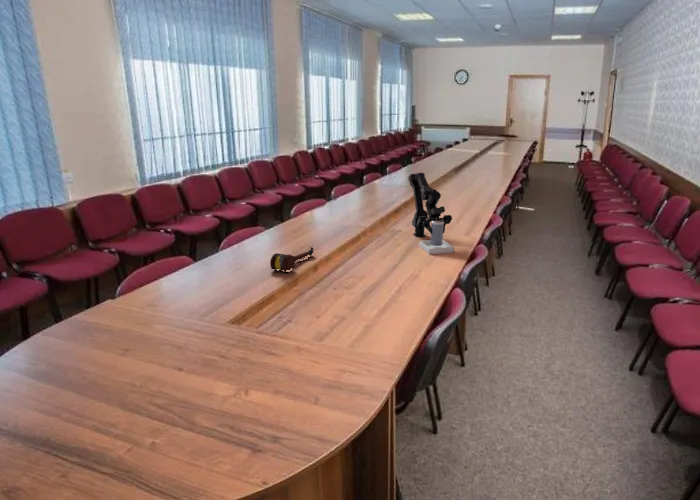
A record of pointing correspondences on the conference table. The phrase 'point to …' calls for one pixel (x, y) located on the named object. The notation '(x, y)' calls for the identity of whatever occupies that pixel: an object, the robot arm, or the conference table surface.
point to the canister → (437, 232)
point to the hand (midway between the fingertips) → (437, 233)
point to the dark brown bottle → (286, 260)
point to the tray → (436, 247)
